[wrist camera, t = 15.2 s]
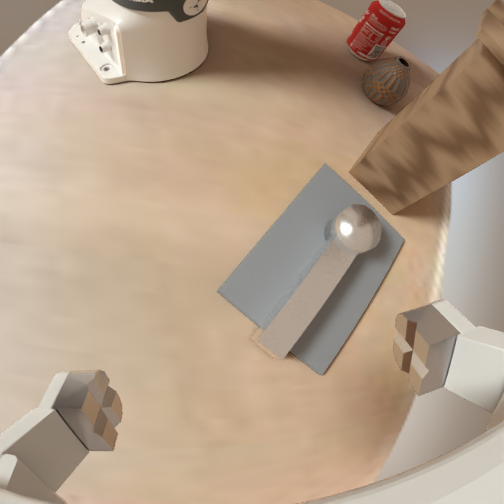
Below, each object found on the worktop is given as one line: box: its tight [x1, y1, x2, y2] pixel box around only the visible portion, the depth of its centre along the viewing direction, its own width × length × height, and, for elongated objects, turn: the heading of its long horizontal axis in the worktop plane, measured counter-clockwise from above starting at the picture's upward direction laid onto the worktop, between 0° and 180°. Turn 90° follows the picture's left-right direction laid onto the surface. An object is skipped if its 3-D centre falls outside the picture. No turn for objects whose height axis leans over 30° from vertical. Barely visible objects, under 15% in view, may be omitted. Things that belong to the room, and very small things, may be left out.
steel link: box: [250, 204, 381, 360], centre depth 32 cm, size 5×18×4 cm, turn 141°
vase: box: [363, 56, 411, 105], centre depth 40 cm, size 7×7×9 cm
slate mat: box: [217, 163, 405, 375], centre depth 35 cm, size 14×20×1 cm
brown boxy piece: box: [349, 0, 504, 215], centre depth 28 cm, size 11×12×28 cm
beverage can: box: [347, 0, 406, 61], centre depth 41 cm, size 6×6×12 cm
